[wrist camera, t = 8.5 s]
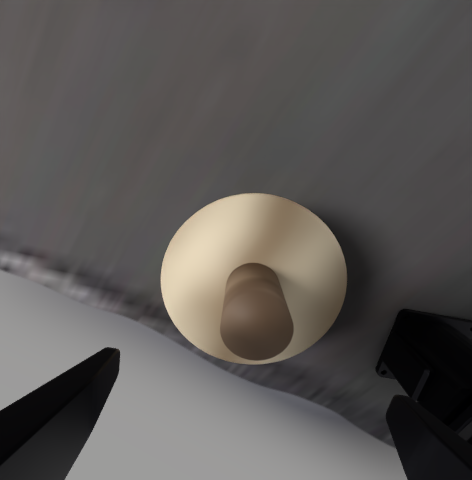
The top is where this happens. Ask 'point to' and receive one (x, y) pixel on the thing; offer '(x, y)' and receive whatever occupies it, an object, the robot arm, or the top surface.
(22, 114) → the top surface
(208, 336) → the lid
